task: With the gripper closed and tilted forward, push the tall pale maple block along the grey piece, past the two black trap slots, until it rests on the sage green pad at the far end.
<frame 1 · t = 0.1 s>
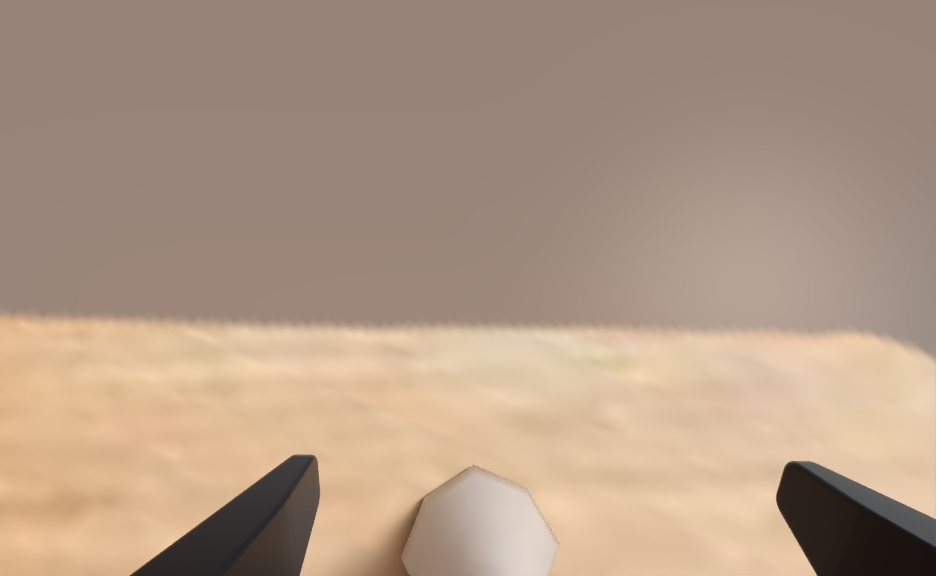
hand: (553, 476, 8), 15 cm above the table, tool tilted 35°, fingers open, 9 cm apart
flask: (479, 547, 21), on the table
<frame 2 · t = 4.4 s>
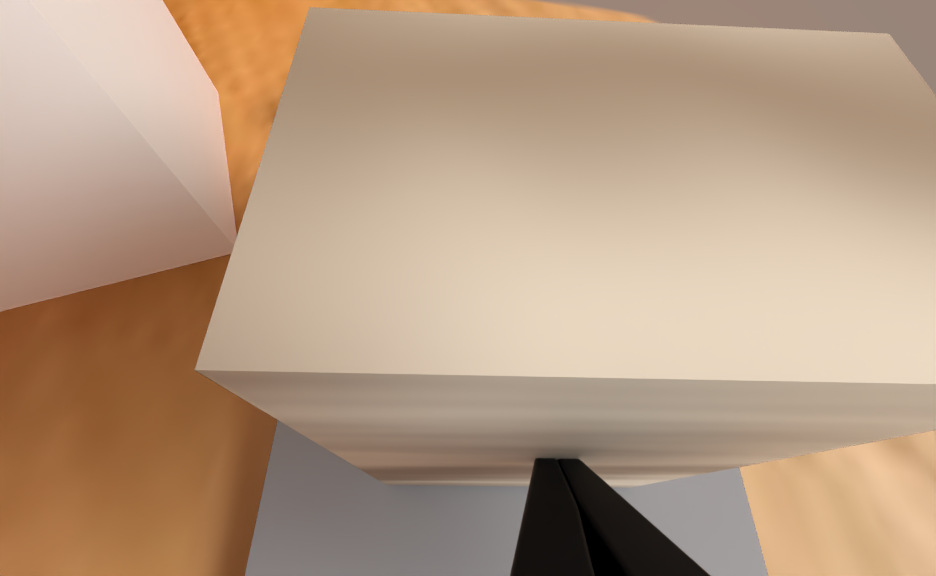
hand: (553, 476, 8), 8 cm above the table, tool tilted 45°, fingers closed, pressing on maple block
milk: (102, 193, 22), on the table
maple block: (538, 348, 10), point 8 cm above the table, slide at 1.6 cm, touching gripper
grey piece: (500, 394, 17), on the table
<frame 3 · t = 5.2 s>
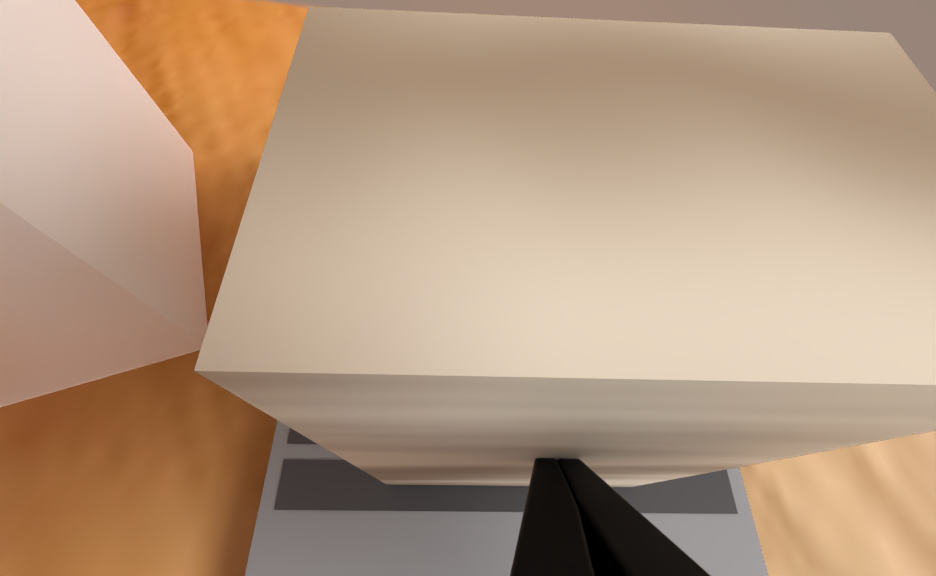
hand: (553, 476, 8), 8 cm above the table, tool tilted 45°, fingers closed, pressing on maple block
milk: (59, 274, 19), on the table
maple block: (538, 348, 10), point 8 cm above the table, slide at 6.3 cm, touching gripper
grey piece: (504, 528, 15), on the table
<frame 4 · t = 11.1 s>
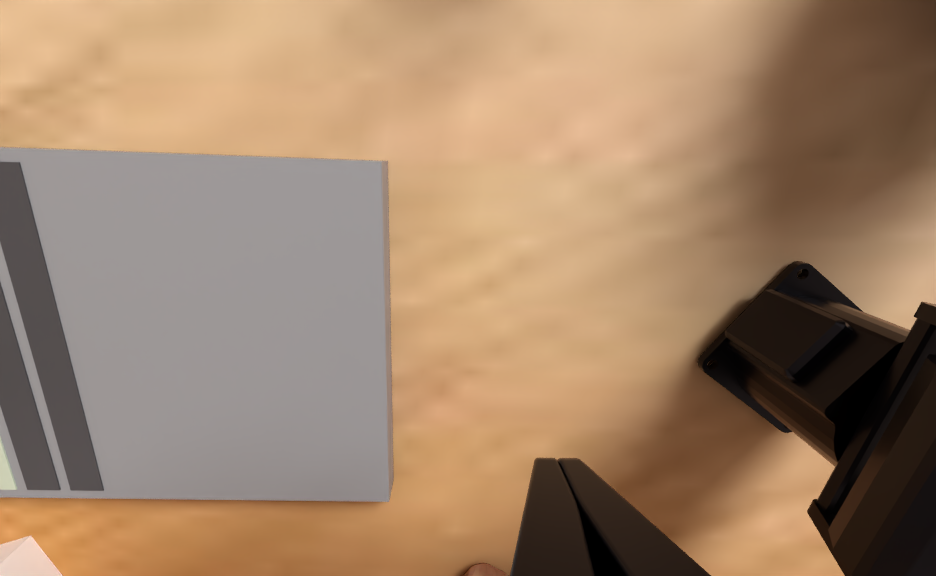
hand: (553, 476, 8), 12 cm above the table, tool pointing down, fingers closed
grey piece: (106, 332, 20), on the table
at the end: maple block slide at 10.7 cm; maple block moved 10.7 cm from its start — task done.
